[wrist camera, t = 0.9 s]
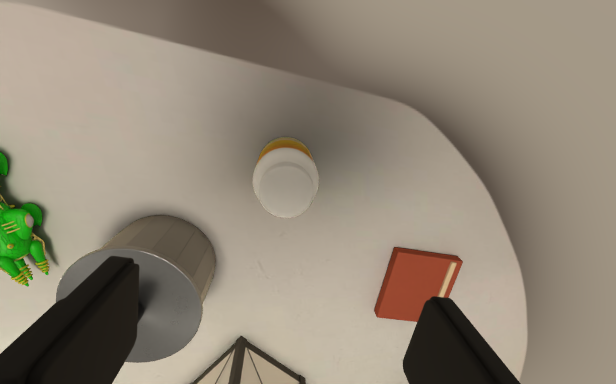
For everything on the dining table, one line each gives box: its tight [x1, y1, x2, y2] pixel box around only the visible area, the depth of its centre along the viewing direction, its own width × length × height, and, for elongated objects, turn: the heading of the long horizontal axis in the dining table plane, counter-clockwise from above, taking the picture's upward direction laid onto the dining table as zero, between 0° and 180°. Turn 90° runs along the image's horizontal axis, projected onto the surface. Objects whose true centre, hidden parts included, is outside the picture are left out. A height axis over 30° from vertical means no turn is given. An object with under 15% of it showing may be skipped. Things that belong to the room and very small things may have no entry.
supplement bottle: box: [253, 137, 319, 218], centre depth 26 cm, size 5×5×10 cm
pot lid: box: [56, 246, 203, 363], centre depth 24 cm, size 12×12×5 cm
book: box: [374, 247, 463, 322], centre depth 36 cm, size 9×8×2 cm
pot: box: [100, 215, 216, 304], centre depth 29 cm, size 11×11×8 cm
